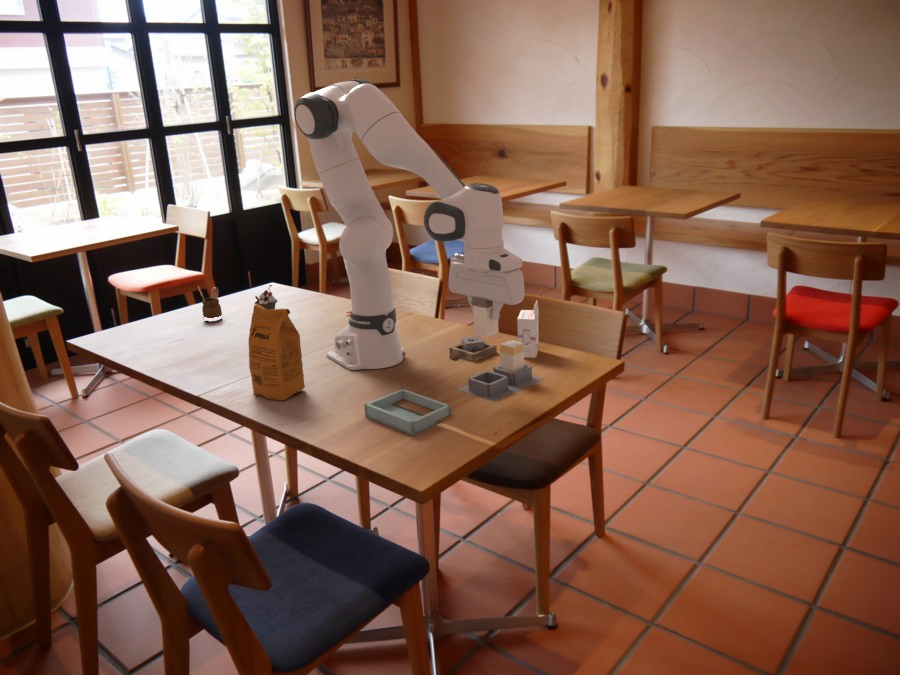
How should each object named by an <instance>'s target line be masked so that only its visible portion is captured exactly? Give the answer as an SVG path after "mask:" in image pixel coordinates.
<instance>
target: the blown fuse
mask: <svg viewBox="0 0 900 675" xmlns="http://www.w3.org/2000/svg"><path fill="white" fill-rule="evenodd" d="M472 298H473V314H472V315H473V335H475V336H479V337H481V338H490V337H493V336H495V335H497V334H498V335H499V319H497V320H494V319H490V311H493V309H494V307H495V306H494V305H493V301H490V300H487V299H483V298H478V297H472Z"/></svg>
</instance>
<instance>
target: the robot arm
mask: <svg viewBox="0 0 900 675" xmlns="http://www.w3.org/2000/svg"><path fill="white" fill-rule="evenodd" d="M293 111H294V119H295V120H294V121H295V123H296V125H297V128H298V130H299V131H300V132H301V133H302V134H303V135H304V136H305V137H306V138H308V139H307V140H308V145H309V149H310V150H309V151H310V154H311V157H312V161H313V164H314V167H315V170H316V171H317V173H318V177H319V179H320V182H321V185H322V187H323V190H324V192H325V195H326V197H327V199H328V202H329V204H330V205H331V206H332V207H333V208H334V209H335V211H336V212H337V213H338V215H339V216H340V218H341V219H342V221H343V223H344V224H345V228H344V229H343V231H342V232H341V235H340V239H339V243H338V248H339V251H340V254H341V256H342V259H343V263H344V267H345V270H346V275H347V278H348V282H349V289H350V291H349V292H350V301H351V302H350V303H351V311H347V312H346V314H347V315H346V317H349V319H348V323H347V325H346V326H344V327H343V328H342V329H341V330H340V331H338V333H337V334H336V335H335V338H334V348H332V349H330V350H329V351H327V353H326V357H327V358H328V359H330V360H332V361H333V362H335V363H337V364H339V365H340V366H342V367H343V368H345V369H348V370H350V371H359V370H377V369H378V370H379V369H385V368H390V367H393V366H396V365H399V363H401V362H403V361H404V355H403V354H404V352H405V350H404V348H403V347H402V344H401V339H400V332H399V327H398V325H397V324H396V322H397V311H396V308H395V307H394V294H393V293H394V292H393V280H392V277H391V275H390V271H389V266H388V262H387V255H386V254H387V249H388V248H389V247H390V246H391V244H392V242H393V240H394V228H393V224H392V222H391V220H390V219H389V218H388V217H387V215H386V213H385V211H384V209H383V206H382V205H381V203H380V202H379V199H378V198H377V196H376V195H375V192H374V191H373V189H372V187H371V185H370V182H369V180H368V177H367V175H366V172H365V169H364V167H363V164H362V161H361V159H360V157H359V154H358V151H357V149H356V147H355V145H354V142H353V135H354V134H353V133H355V134H356V135H357V137H358V138H359V140H360V141H361V143H362V144H363V146H364V147H365V149H366V150H367V152H369V155H371V156H372V157H374V158H373V159H375V160H377V161H378V162H379V163H380V164H382V165H384V166H385V167H386V166H387V167H389V168H395V169H400V170H405V171H408V172H411V173H413V174H416V175H417V176H419V177H420V178H422V179H423V180H424V181H425V182H426V183H427V185H429V186H430V188H432V190H433V191H434V193H436V195H437V196H438V197H439V198H440V199H438V200H436V201H434V202H432V203H430V204H429V205H428V206H427V207H426V209H425V211H424V213H423V214H424V215H423V225H424V229H425V231H426V232H427V234H428V236H429V237H430V238H431V239H432V240H434V241H435V242H439V243H450V242H453V241H457V240H459V241H460V240H461V241H462V242H463V249H464V252H463V253H464V254H462V253H457V252H456V253H454V254H453V255H452V256H451V257H450V259H449V260H450V261H449V263H450V266H449V273H448V288H449V291H450V292H451V293H452V294H457V295H462V296H466V297H467V302H468V303H469V305H470V307H471V315H473V298H472V297H478V298H483V299H487V300H490V301H493V305H494V306H495V307H494V309H493V311H490V319H494V320H497V319H498V320H499V319H500V312H501V310H502V308H503V306H504V304H505V305H510V306H514V305H518V304H520V303H522V302H523V301H524V299H525V279H524V274H523V271H522V270H521V269H520V268H522V267H523V259H522V258H521V257H519V256H518V255H516V254H514V253H512V252H511V251H509V250H508V249H507V248H505V246H504V245H505V244H504V240H503V233H502V232H503V227H504V209H503V202H502V201H503V200H502V194H501V193H500V191H499V189H498V188H496V187H495V186H493V185H491V184H489V183H488V184H487V183H479V182H473V183H468V184H465V183H464V182H463V181H462V179H460V178H459V177H458V175H457V174H456V173H455V172H454V171H453V170H452V168H451V167H450V166H449V165H448V163H446V162H445V160H444V159H443V158H442V157H441V156H440V155H439V153H437V152H436V151H435V149H433V148H432V147H431V146H430V145H429V144H428V143H427V142H426V141H425V140H424V139H423V138H422V137H421V136H420V135H419V133H417V131H415V129H414V128H413V127H412V126H411V125H410V123H409V122H408V121H407V120H406V118H405V117H404V116H403V114H402V113H401V111H400V110H399V109H398V108H397V107H396V105H395V104H394V103H393V101H392V100H390V98H389V97H388V96H387V95H386V94H385V93H384V92H383V91H382V90H380V89H379V88H378V87H377V86H375V85H374V84H373V83H371V82H370V81H368V80H366V79H360V78H353V79H350V80H348V81H341V82H336V83H333V84H332V83H331V84H329V85H327V86H325V87H323V88H321V89H318V90H315V91H314V92H313V91H312V92H308V93H305V94H304V95H302V96H301V97H300V98H299V99H298V100H297V101H296V102H295V106H294V110H293Z"/></svg>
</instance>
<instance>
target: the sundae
mask: <svg viewBox="0 0 900 675" xmlns="http://www.w3.org/2000/svg"><path fill="white" fill-rule="evenodd" d="M272 286H273V285H271V284H269V287H268V288H267V289H265V290H264V291H263V292H261V294H260V295H259V297H258V296H257V295H255V296H254V297H255V299H256V301H255V302H254V305H255V304H258V305H260V306H262V307H263V308H265V309H267V310H269V309H276V303H278V300H277V298H276V297H275V296H274V295H273V292H272V291H271V287H272Z"/></svg>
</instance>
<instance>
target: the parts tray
mask: <svg viewBox="0 0 900 675" xmlns="http://www.w3.org/2000/svg"><path fill="white" fill-rule="evenodd" d="M400 400H405V401H409V402H411V403H414V404H416V405H419V406H423V407H424V408H427V409H431V410H434V411H431V412H429V413H426V414H421V413H419V412H416V411H413V410H411V409H408V408H405V407H402V406H401V405H400V406H399V405H398V404H395V403H396V402H398V401H400ZM364 413H365V414H364V416H365V417H366V418H367V419H371V420H374V421H376V422H378V423H380V424H383V425H385V426H387V427H391V428H392V429H395V430H398V431H400V432H402V433H405V434H408V435H410V436H412V437H413V436H416V435H419V434H420V433H422V432H425V431H426V430H428V429H430V428H431V429H432V428H433V427H435V426H437V425H439V424H441V423H443V422H442V421H440V420H441V419H443V418H445V417H448V416H450V415H452V406H451V404H448V403H445V402H441V401H439V400H436V399H434V398H430V397H428V396H425V395H422V394H419V393H416V392H413V391H410V390H408V389H405V388H401V389H398V390H396V391H393V392H392V393H389V394H386V395H384V396H381V397H379V398H377V399H373V400H372V401H369V402H366V403H365V404H364Z"/></svg>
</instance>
